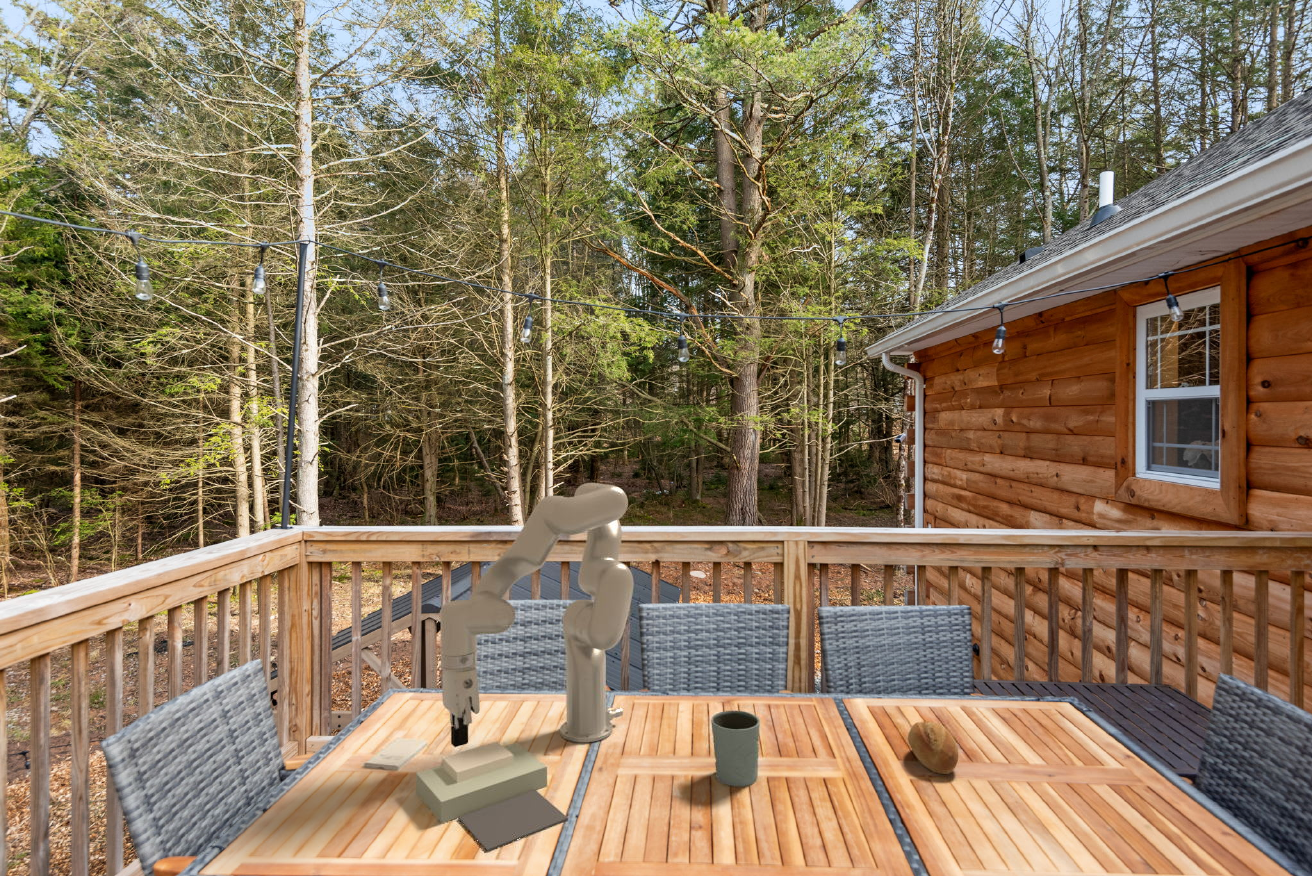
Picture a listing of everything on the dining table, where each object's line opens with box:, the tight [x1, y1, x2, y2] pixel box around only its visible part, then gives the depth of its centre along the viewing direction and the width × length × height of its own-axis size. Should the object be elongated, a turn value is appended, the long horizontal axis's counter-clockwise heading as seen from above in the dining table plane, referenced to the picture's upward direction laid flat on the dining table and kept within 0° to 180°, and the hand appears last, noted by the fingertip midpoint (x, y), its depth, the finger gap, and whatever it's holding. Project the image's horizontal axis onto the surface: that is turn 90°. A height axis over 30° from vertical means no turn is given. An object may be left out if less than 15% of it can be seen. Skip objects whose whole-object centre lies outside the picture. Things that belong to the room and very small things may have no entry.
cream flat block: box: [441, 741, 514, 783], centre depth 142 cm, size 12×8×2 cm, turn 128°
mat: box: [457, 790, 569, 853], centre depth 129 cm, size 16×13×1 cm
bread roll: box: [907, 720, 959, 775], centre depth 151 cm, size 10×15×8 cm, turn 176°
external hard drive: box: [363, 737, 429, 771], centre depth 155 cm, size 2×8×12 cm
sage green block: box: [415, 742, 548, 824], centre depth 140 cm, size 22×14×4 cm, turn 128°
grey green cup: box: [710, 710, 761, 788], centre depth 145 cm, size 10×10×12 cm
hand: (459, 744), depth 149 cm, fingers closed
